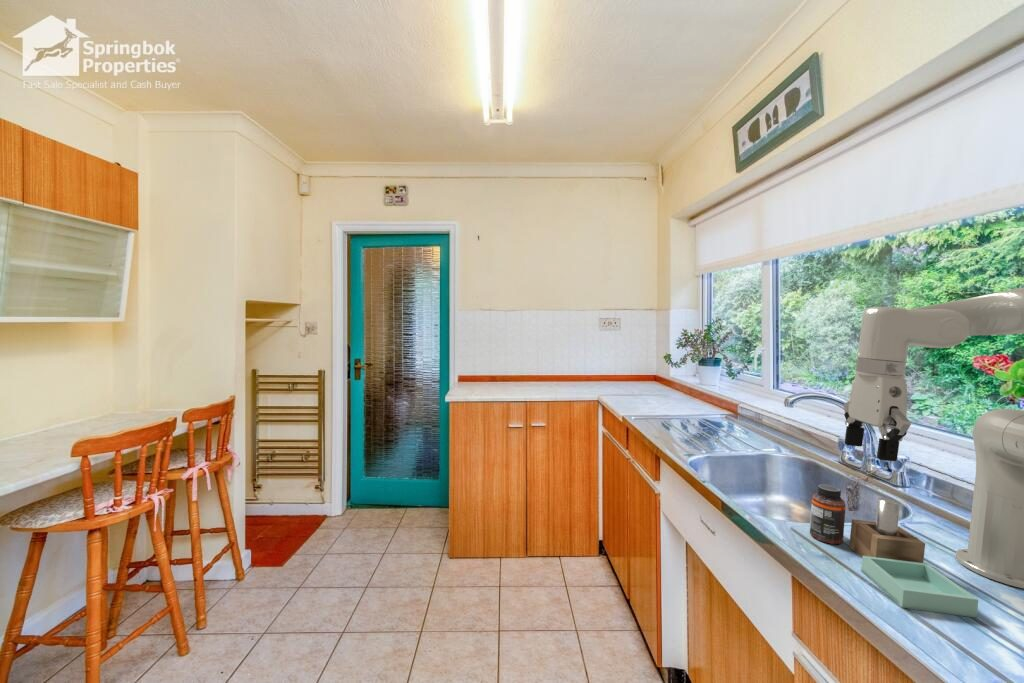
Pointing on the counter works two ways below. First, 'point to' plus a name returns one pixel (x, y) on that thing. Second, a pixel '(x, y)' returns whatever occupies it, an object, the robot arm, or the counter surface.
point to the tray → (919, 586)
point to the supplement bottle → (827, 515)
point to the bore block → (885, 543)
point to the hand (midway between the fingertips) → (868, 452)
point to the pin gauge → (887, 517)
